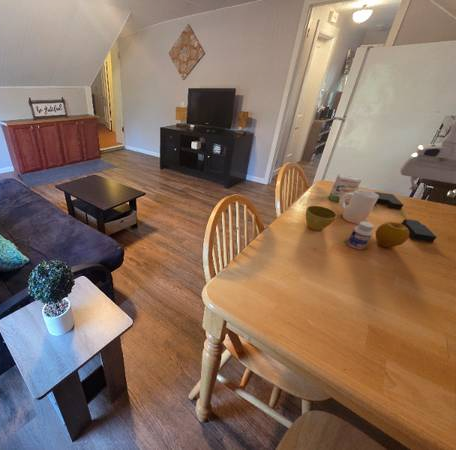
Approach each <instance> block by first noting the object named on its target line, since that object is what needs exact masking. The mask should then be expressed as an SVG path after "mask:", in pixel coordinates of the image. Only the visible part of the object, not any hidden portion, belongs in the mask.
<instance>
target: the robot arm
mask: <svg viewBox="0 0 456 450" xmlns="http://www.w3.org/2000/svg"><path fill="white" fill-rule="evenodd" d="M399 173H400V174H401V176H404V177H409V179H410V185H409V187H408V189H409V190H410V191H417V188H418V187H419V185H418V183H417V184H416V183H415V181H417V180H418V179H424V180H430V181H436V182H442V183H448V184H452V185H453V184H455V185H456V118H455V119H454V120H453V122H452V123H451V126H450V130H449V132H448V134H446V136H445V137H444V138H443V139H442V140H441V142H437V143H428V144H421V145H418V147H417V148H416V152H413V153H412V154H411V155H409V156H408V158H407V159H406V160H405V162H404V163H403V164H402V165H401V168H400V170H399ZM446 196H447V197H448V198H455V197H456V189H455V188H454V189H453V190H452V189H449V191H448V192H447V194H446Z"/></svg>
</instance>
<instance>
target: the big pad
mask: <svg viewBox="0 0 456 450" xmlns="http://www.w3.org/2000/svg"><path fill="white" fill-rule="evenodd" d="M373 192H374V193H376V194H378V195H379V198H378V199H377V201H376V203H375V205H374V207H375V206H377V204H380V205H386V206H387V207H388V208H389V209H394V210H402V208H403V207H404V204H403V203H402V201H400V199H398V198H397V196H396V195H394V194H393V193H385V192H377V191H373Z"/></svg>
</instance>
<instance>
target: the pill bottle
mask: <svg viewBox="0 0 456 450" xmlns="http://www.w3.org/2000/svg"><path fill="white" fill-rule="evenodd" d="M374 228H375V225H374V224H373V223H371V222H369V221H366V222H364V221H362V222H360V223H359V224H358V225H357V226H355V227H354V228H353V229H352V232H351V234H350V235H349V238H348V239H347V244H348V246H350V247H351V248H354V249H357V250H364V249H365V248H366V246H367V245H368V243H369V241H370V240H371V238H372V236H373V235H374V233H373V230H374Z"/></svg>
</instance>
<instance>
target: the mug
mask: <svg viewBox="0 0 456 450" xmlns="http://www.w3.org/2000/svg"><path fill="white" fill-rule="evenodd" d="M374 192H375V191H372V190H369V189H368V190H367V189H363V188H362V189H361V188H360V189H358V188H357V190H355V191H354V193H347V194H345V195H343V196H342V197H341V198H340V200H339V201H338V206H339V207H340V209H341V210H342V211H343V214H342V218H343V219H344V220H345V221H347V222H350V223H353V224H356V225H357V224H358V225H359V223H360V222H362V221H364V222H367V220H368V218H369V216H370V214H371V213H372V210H373V209H374V207H375V206H376V205H375V203H376V201H377V199H378V198H379V195H378V194H376V193H374ZM349 197H351V199H350V202H349V203H347V206H346V203H345V200H346V199H347V198H349ZM376 204H377V203H376ZM374 205H375V206H374Z"/></svg>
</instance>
